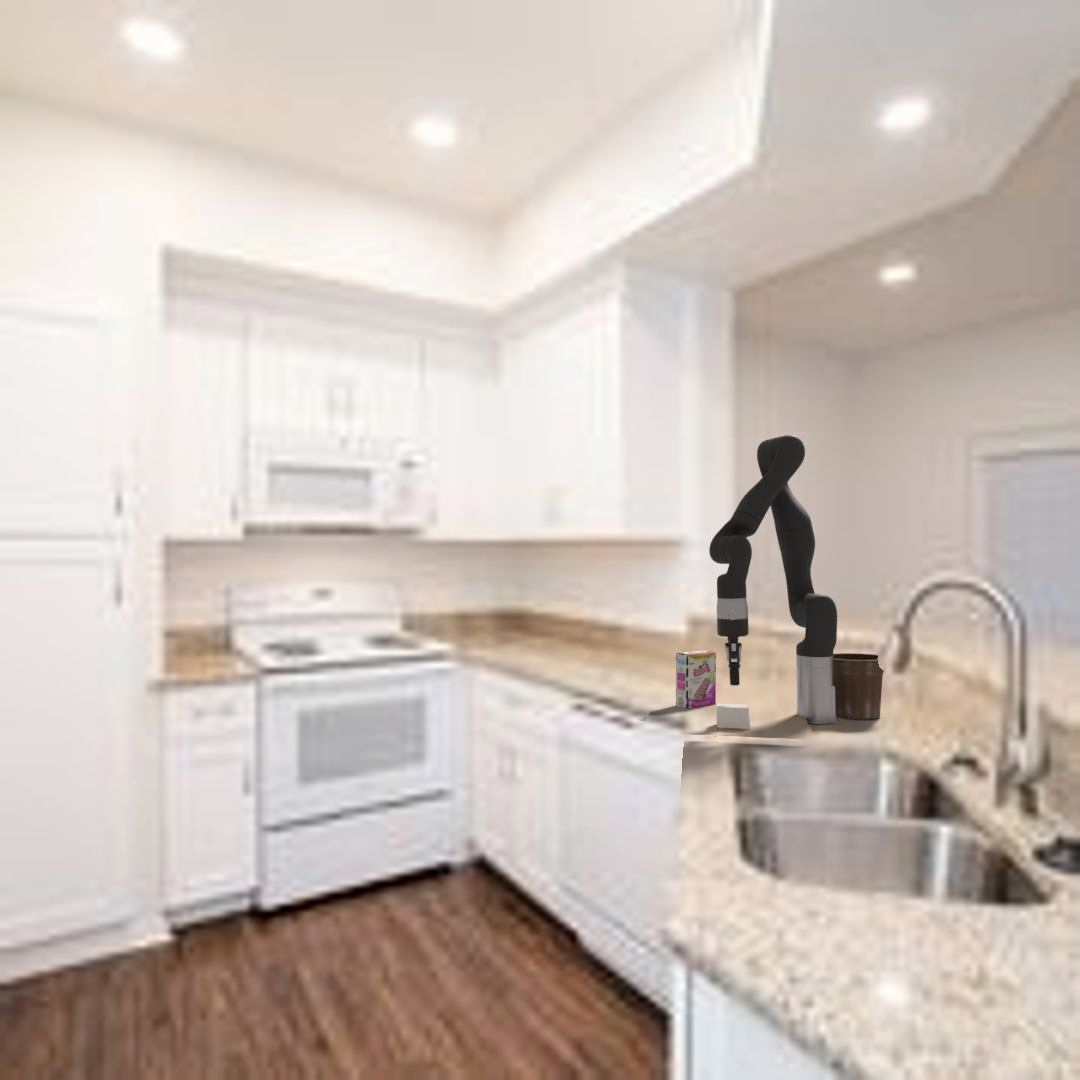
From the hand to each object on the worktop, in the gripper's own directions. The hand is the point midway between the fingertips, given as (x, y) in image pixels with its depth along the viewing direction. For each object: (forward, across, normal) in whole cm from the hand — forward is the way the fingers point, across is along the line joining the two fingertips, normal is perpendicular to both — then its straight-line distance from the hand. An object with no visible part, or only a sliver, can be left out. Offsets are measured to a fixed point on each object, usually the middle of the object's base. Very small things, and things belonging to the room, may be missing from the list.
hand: (734, 682), depth 198 cm
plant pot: (+14, -27, +32) cm, 43 cm away
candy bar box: (+13, -27, -10) cm, 32 cm away
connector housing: (+11, 0, -1) cm, 11 cm away
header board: (+12, -6, -1) cm, 14 cm away
